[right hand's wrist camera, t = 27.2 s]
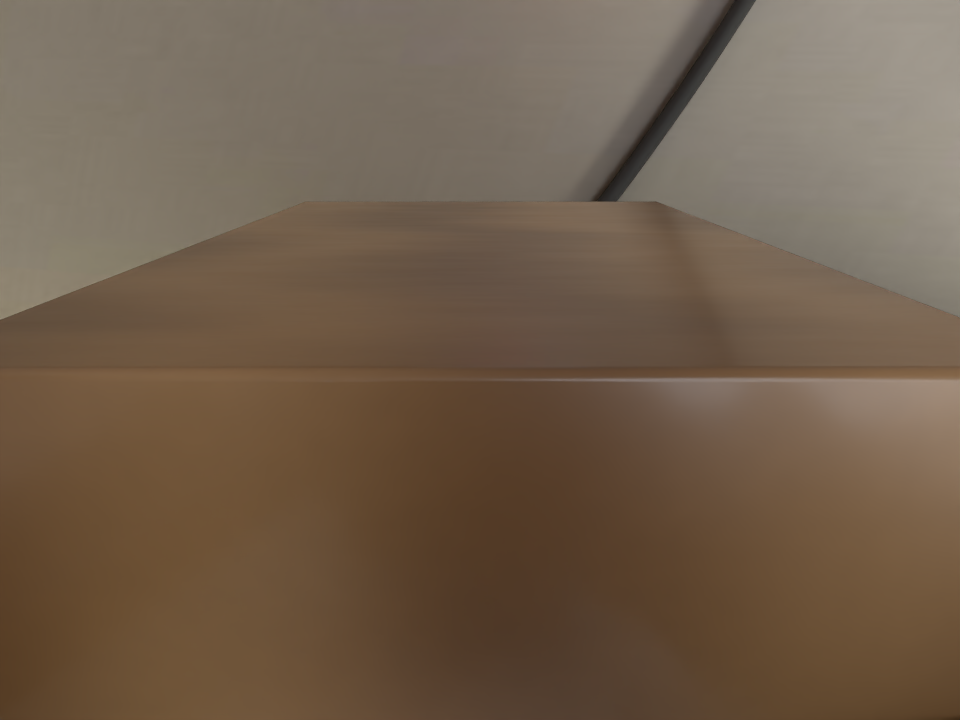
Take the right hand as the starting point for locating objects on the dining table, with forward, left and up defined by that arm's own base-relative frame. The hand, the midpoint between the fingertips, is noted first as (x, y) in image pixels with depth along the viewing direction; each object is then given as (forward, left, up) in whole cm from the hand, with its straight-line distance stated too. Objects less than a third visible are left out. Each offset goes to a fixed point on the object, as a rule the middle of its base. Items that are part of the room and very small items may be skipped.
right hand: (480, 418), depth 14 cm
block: (0, 0, -3) cm, 3 cm away
